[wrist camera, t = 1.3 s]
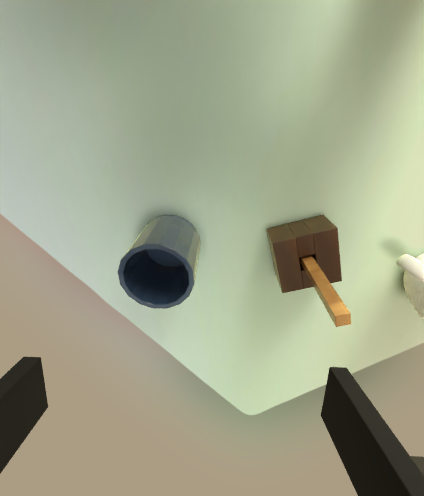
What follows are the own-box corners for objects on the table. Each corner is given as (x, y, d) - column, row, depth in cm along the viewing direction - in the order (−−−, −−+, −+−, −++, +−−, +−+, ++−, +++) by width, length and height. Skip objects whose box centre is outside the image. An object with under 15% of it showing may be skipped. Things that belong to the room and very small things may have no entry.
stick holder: (323, 214, 37) (337, 227, 32) (328, 263, 40) (341, 281, 35) (266, 228, 38) (272, 243, 33) (275, 274, 41) (282, 293, 37)
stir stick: (302, 241, 38) (350, 313, 24) (303, 249, 39) (351, 324, 25) (292, 243, 39) (334, 315, 24) (294, 251, 39) (336, 326, 25)
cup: (167, 202, 37) (149, 228, 28) (212, 242, 39) (209, 278, 30) (130, 242, 39) (103, 278, 31) (174, 277, 42) (161, 319, 33)
